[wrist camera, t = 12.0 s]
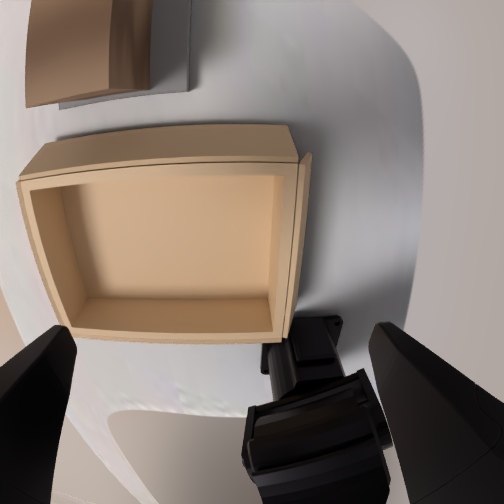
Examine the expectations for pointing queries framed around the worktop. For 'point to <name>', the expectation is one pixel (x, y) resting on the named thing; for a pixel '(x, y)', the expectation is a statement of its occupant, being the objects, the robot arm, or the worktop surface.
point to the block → (86, 49)
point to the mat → (162, 52)
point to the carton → (170, 232)
